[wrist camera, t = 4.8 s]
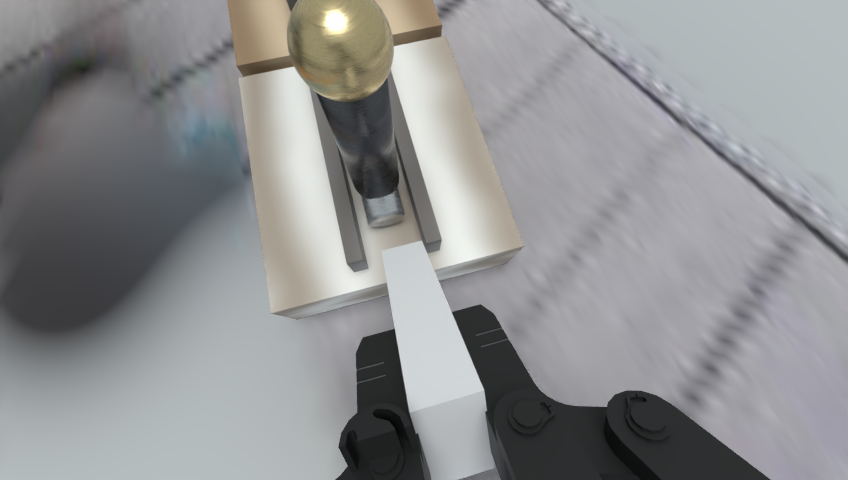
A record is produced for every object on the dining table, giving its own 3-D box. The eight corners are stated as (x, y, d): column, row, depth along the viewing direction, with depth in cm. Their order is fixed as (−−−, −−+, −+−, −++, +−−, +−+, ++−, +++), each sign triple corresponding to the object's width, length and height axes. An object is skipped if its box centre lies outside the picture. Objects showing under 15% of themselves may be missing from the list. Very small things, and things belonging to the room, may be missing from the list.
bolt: (361, 232, 19) (280, 71, 8) (322, 61, 22) (227, -216, 11) (414, 218, 19) (407, 45, 8) (367, 52, 23) (318, -227, 12)
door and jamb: (297, 319, 22) (230, 304, 14) (249, 23, 29) (188, -93, 21) (506, 262, 23) (550, 221, 15) (411, -7, 30) (409, -128, 22)
